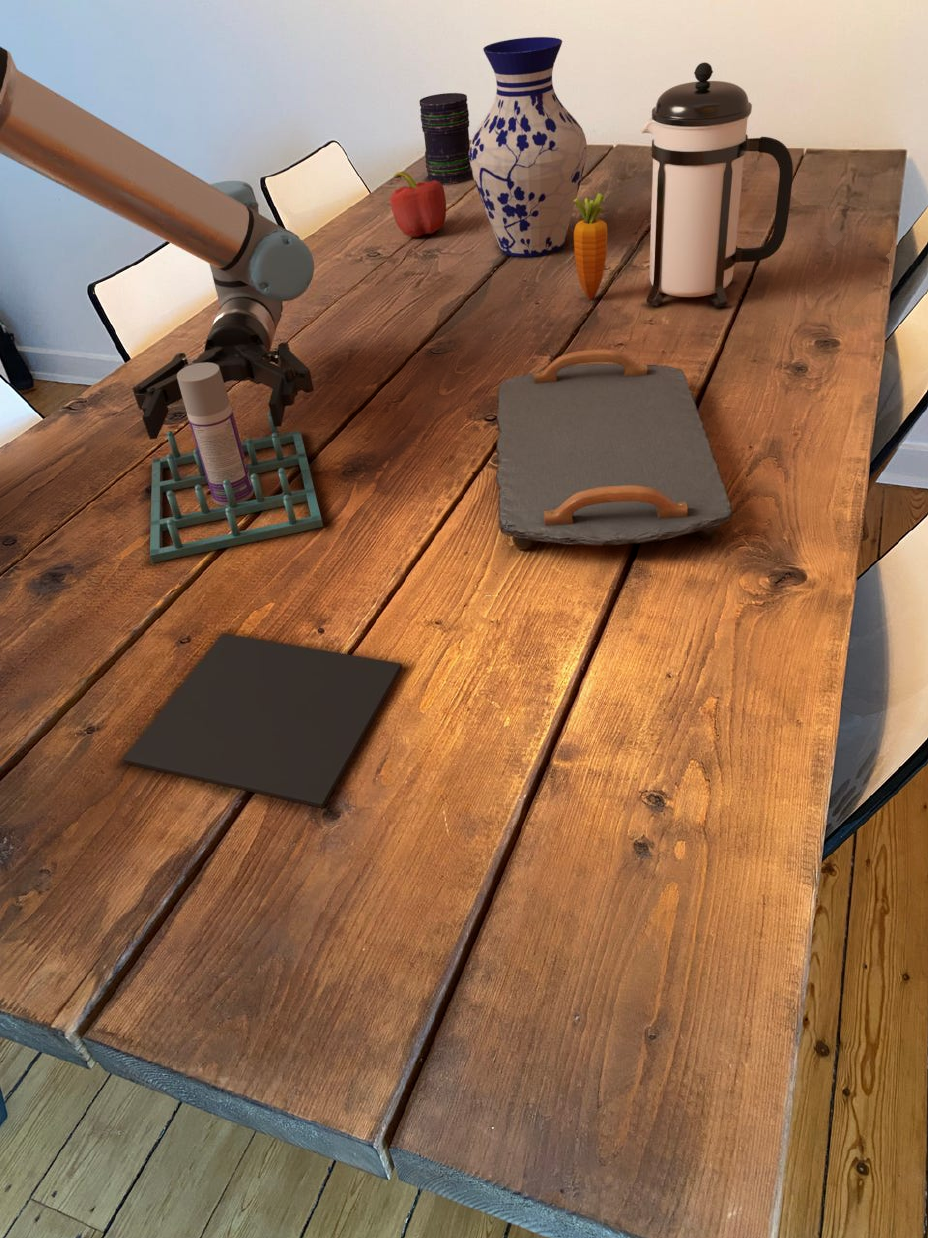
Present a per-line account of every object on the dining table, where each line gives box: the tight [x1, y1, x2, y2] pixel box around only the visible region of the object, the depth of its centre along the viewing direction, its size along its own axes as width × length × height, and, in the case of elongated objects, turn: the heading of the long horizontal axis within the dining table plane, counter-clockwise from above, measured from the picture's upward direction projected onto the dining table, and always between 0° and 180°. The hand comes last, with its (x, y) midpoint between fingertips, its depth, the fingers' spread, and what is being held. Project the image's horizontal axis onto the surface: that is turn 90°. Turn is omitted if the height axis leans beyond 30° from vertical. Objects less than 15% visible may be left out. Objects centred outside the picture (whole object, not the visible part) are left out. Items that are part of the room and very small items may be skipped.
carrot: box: [573, 192, 608, 301], centre depth 137 cm, size 5×5×15 cm
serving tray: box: [495, 348, 733, 552], centre depth 104 cm, size 39×23×6 cm, turn 179°
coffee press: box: [640, 62, 794, 309], centre depth 130 cm, size 17×16×30 cm
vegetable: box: [390, 171, 447, 238], centre depth 170 cm, size 11×10×10 cm
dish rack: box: [149, 410, 324, 564], centre depth 106 cm, size 18×21×4 cm
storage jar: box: [418, 92, 474, 185], centre depth 195 cm, size 10×10×15 cm
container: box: [177, 362, 255, 507], centre depth 103 cm, size 5×5×15 cm
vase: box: [469, 36, 588, 258], centre depth 153 cm, size 19×19×30 cm
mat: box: [122, 632, 403, 809], centre depth 79 cm, size 18×16×1 cm
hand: (211, 421), depth 101 cm, fingers open, 13 cm apart
